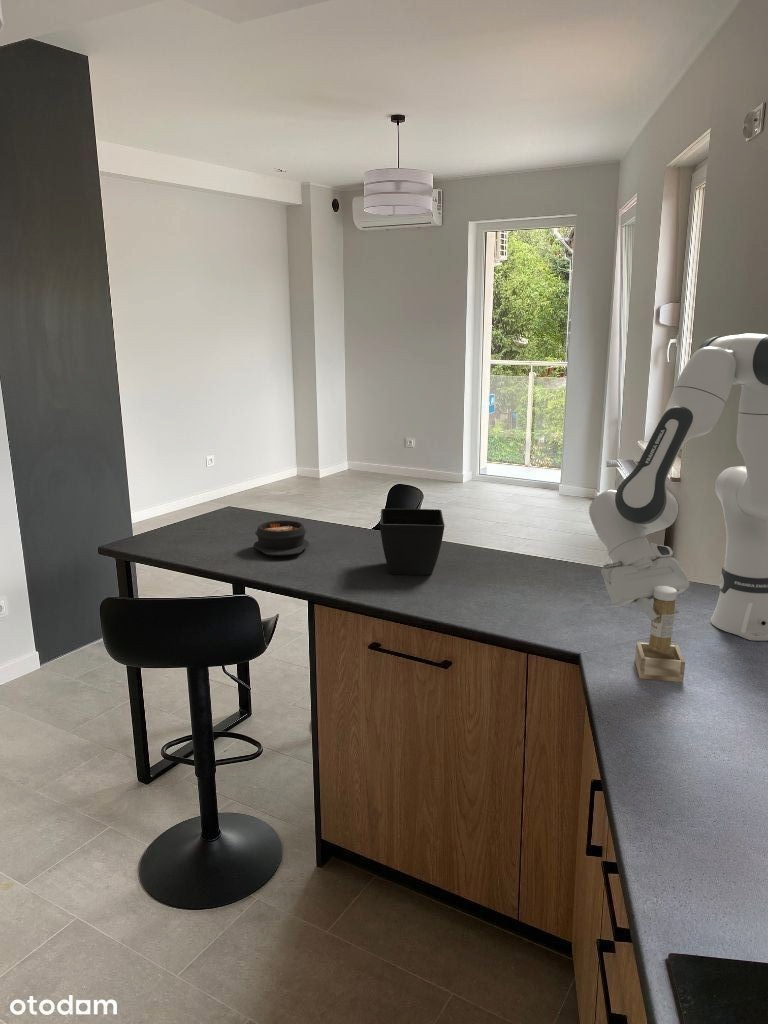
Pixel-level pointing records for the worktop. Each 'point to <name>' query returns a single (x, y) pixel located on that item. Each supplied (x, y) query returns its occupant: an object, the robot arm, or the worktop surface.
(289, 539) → the casserole
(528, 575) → the worktop surface
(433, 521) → the flower pot
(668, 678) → the box
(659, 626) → the sprinkles bottle
